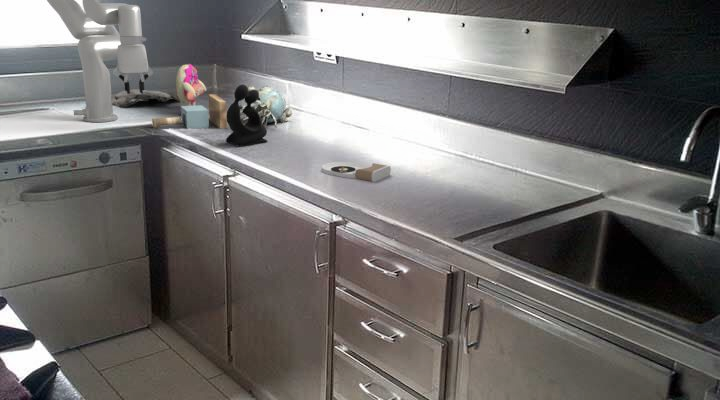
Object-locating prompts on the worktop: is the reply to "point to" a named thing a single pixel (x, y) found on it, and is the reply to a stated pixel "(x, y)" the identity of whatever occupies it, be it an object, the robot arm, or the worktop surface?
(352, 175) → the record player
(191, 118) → the block
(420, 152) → the worktop surface
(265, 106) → the sculpture
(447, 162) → the worktop surface
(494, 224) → the worktop surface
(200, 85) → the toy
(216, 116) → the block
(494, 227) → the worktop surface
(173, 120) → the dowel
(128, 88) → the robot arm
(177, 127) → the guide rails
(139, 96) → the stone fragment
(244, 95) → the figurine
